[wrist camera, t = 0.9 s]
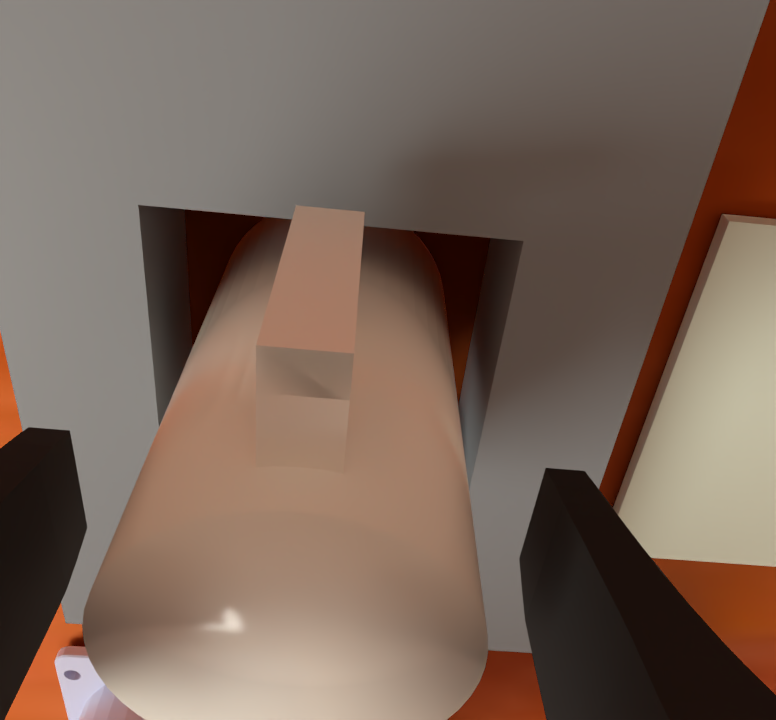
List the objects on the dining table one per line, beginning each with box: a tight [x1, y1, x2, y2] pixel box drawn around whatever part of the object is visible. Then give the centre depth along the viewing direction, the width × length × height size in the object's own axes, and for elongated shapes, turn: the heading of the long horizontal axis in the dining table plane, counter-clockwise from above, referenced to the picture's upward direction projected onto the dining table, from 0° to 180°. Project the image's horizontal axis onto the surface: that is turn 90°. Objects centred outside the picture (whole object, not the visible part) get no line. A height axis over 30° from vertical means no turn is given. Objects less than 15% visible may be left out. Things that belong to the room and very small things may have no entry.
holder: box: [0, 0, 770, 653], centre depth 15 cm, size 16×12×3 cm
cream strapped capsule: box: [82, 205, 488, 720], centre depth 13 cm, size 7×5×9 cm
